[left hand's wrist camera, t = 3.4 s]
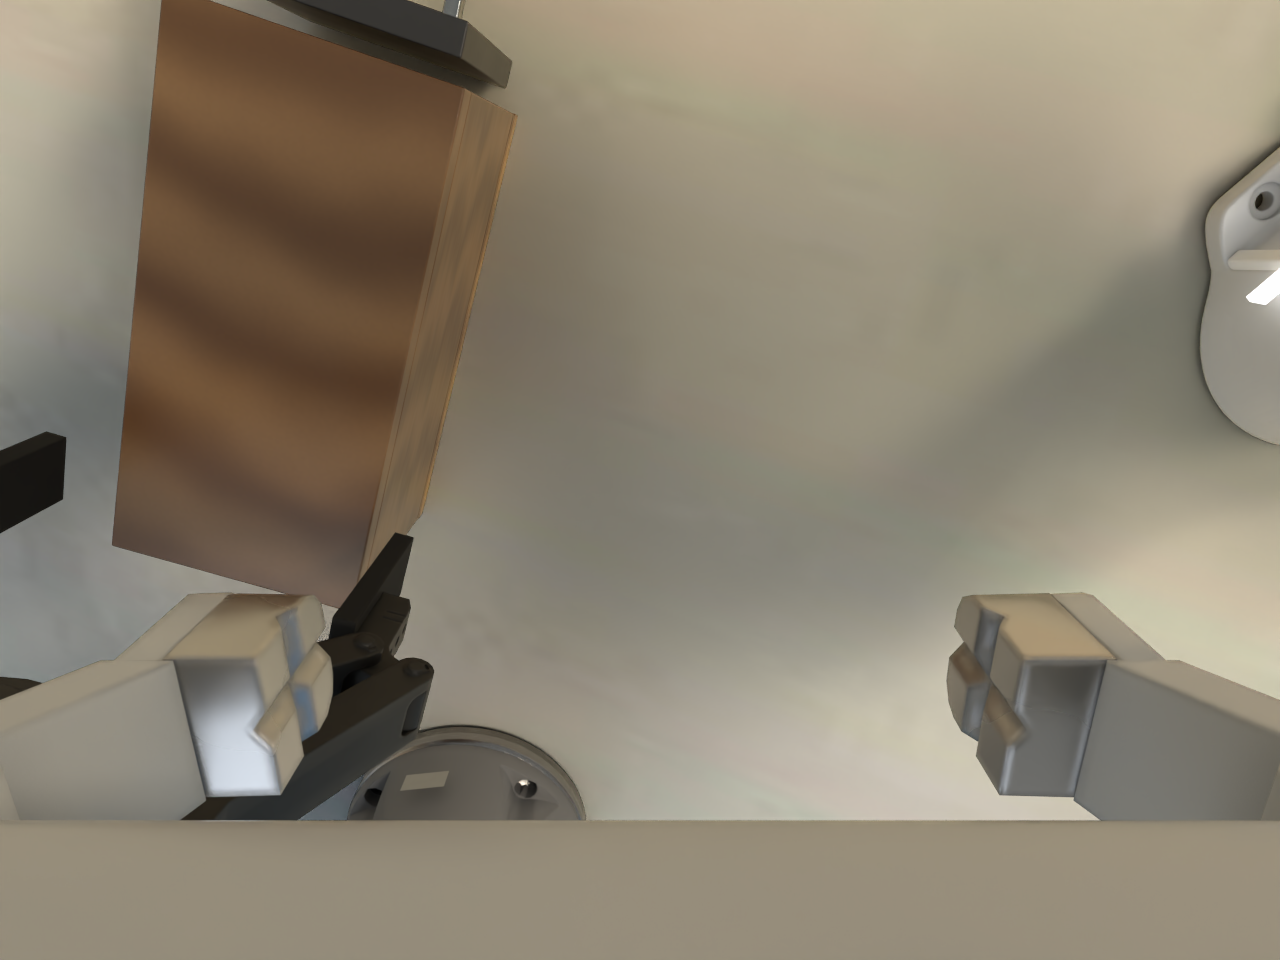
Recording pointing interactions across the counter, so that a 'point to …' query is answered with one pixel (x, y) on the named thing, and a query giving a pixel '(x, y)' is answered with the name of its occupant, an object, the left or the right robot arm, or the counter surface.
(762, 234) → the counter surface
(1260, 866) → the left robot arm
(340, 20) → the drawer
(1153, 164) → the counter surface
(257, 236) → the cabinet
